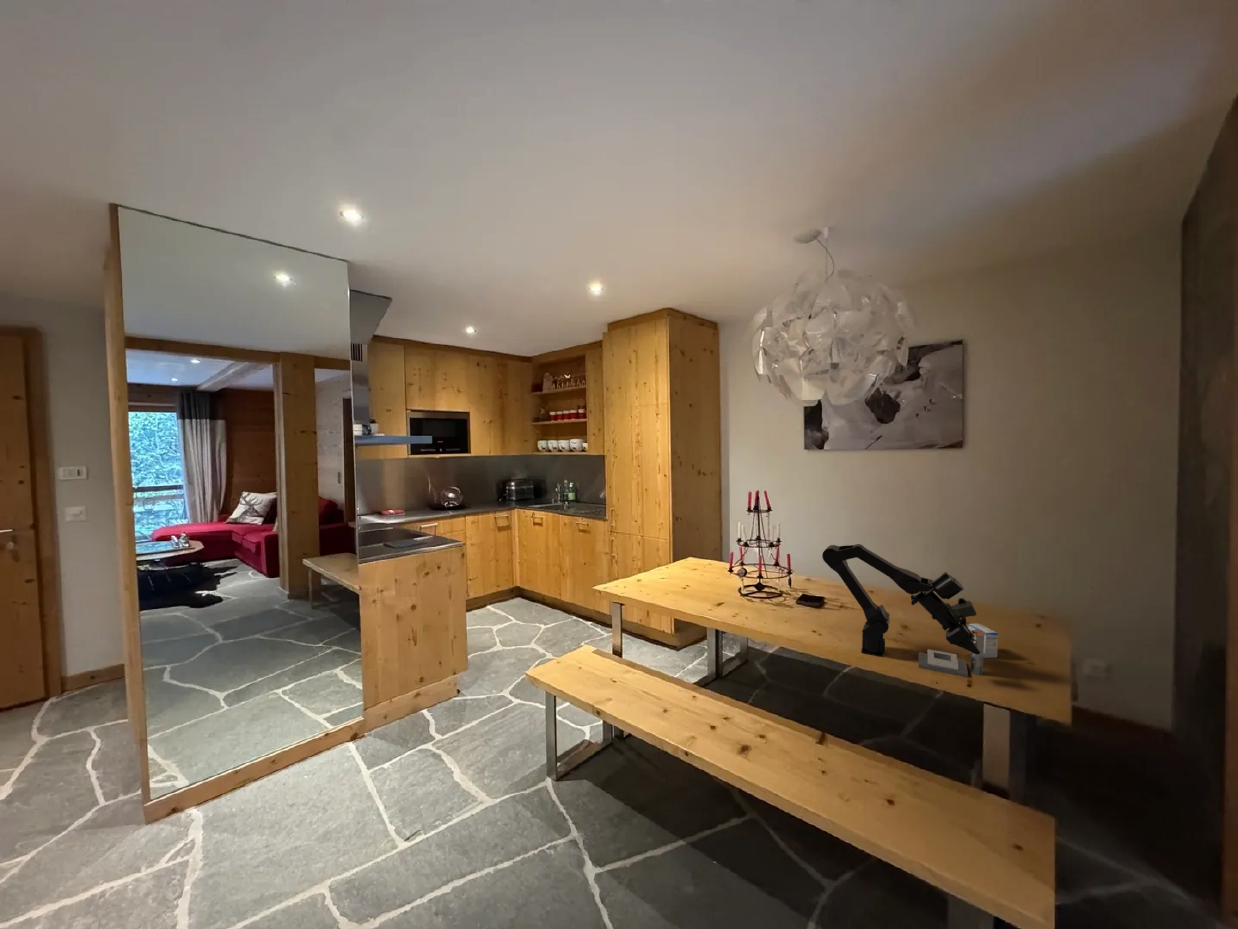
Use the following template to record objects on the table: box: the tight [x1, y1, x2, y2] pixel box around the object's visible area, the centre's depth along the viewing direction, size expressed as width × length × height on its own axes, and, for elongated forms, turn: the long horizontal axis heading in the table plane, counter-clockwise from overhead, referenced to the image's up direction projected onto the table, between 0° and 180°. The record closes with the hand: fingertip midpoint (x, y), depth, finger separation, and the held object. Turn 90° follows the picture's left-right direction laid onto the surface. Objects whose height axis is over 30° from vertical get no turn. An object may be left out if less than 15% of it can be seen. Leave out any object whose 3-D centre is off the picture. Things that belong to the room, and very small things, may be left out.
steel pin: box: [969, 630, 984, 676], centre depth 155 cm, size 3×3×13 cm
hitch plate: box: [917, 648, 969, 678], centre depth 160 cm, size 13×10×3 cm
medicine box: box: [967, 623, 999, 659], centre depth 168 cm, size 8×4×9 cm, turn 4°
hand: (977, 648), depth 154 cm, fingers open, 9 cm apart
